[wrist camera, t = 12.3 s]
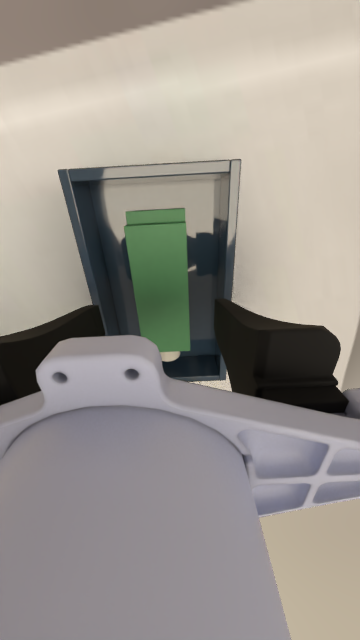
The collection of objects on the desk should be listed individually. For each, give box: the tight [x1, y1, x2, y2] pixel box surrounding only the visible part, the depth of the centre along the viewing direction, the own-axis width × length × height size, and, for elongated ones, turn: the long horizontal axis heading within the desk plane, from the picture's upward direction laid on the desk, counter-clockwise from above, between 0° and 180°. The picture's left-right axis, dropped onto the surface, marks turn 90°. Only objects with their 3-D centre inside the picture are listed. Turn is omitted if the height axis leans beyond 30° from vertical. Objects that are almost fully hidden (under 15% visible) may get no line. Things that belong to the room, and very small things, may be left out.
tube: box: [124, 208, 190, 362], centre depth 17 cm, size 12×4×3 cm, turn 3°
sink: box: [58, 159, 241, 382], centre depth 17 cm, size 10×16×4 cm, turn 3°
